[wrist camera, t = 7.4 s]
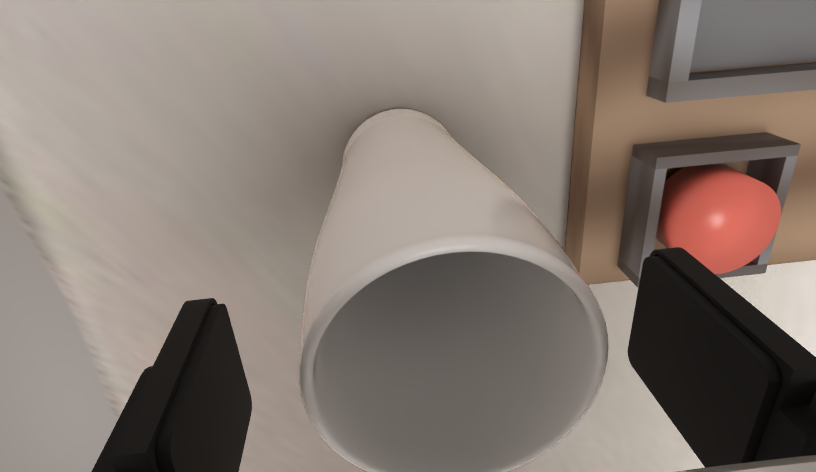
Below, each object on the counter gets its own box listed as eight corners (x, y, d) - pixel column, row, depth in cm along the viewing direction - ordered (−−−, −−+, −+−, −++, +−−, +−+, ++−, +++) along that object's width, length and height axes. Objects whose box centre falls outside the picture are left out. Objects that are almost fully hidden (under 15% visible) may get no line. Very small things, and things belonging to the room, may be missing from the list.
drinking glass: (406, 252, 26) (463, 528, 13) (297, 172, 24) (226, 409, 11) (499, 153, 24) (678, 354, 11) (391, 56, 22) (450, 161, 9)
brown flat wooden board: (845, 236, 29) (915, 272, 25) (563, 266, 28) (595, 307, 24) (1030, -302, 19) (1189, -369, 15) (606, -283, 18) (670, -351, 14)
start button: (730, 244, 25) (766, 268, 23) (643, 253, 25) (671, 279, 23) (751, 156, 23) (793, 174, 21) (656, 166, 23) (688, 184, 21)
